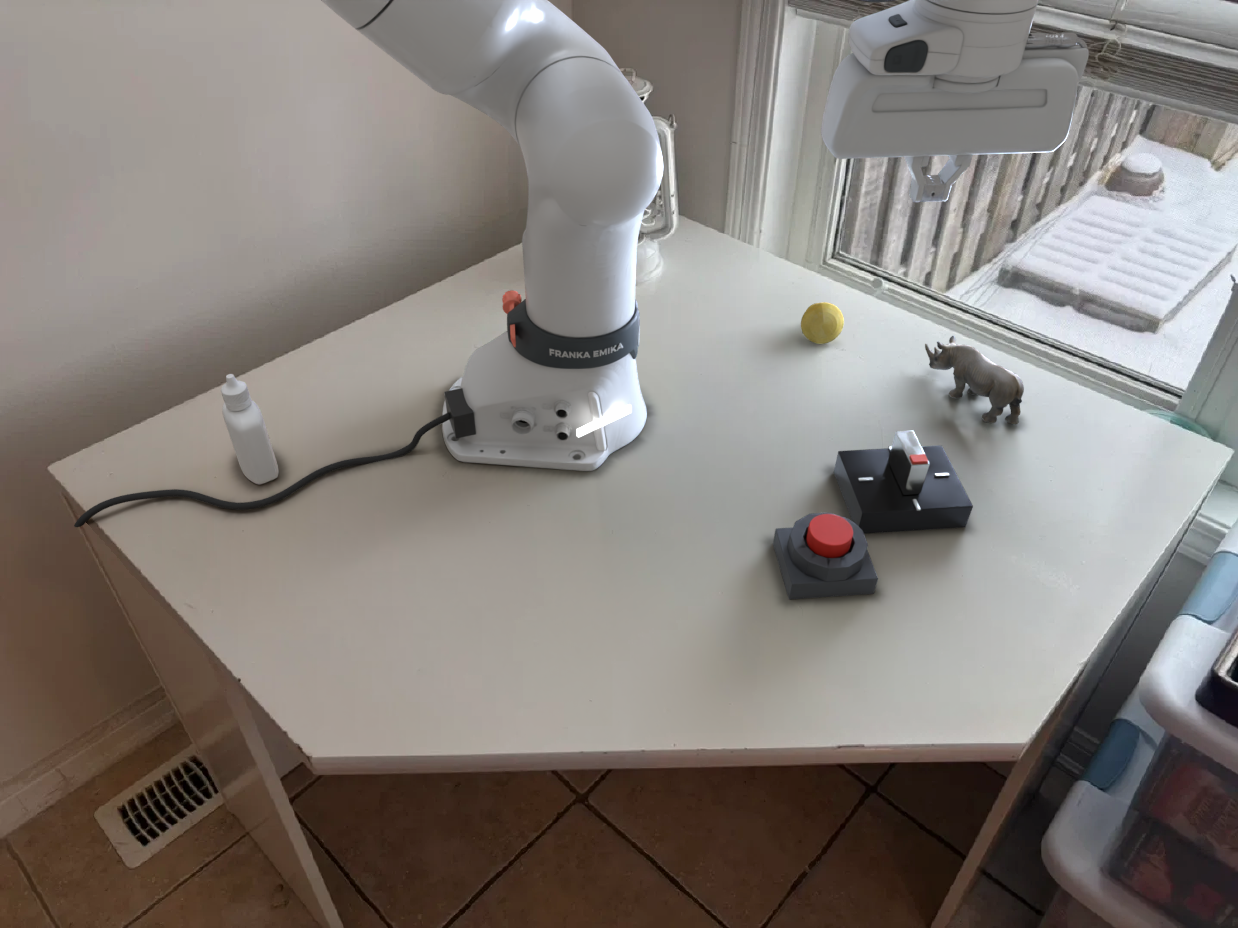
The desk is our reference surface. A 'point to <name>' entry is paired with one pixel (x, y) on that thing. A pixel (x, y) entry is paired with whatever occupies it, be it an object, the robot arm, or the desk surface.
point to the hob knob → (908, 462)
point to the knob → (822, 322)
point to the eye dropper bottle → (248, 432)
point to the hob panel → (900, 493)
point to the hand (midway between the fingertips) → (927, 198)
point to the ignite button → (829, 536)
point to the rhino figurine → (979, 378)
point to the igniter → (823, 564)
